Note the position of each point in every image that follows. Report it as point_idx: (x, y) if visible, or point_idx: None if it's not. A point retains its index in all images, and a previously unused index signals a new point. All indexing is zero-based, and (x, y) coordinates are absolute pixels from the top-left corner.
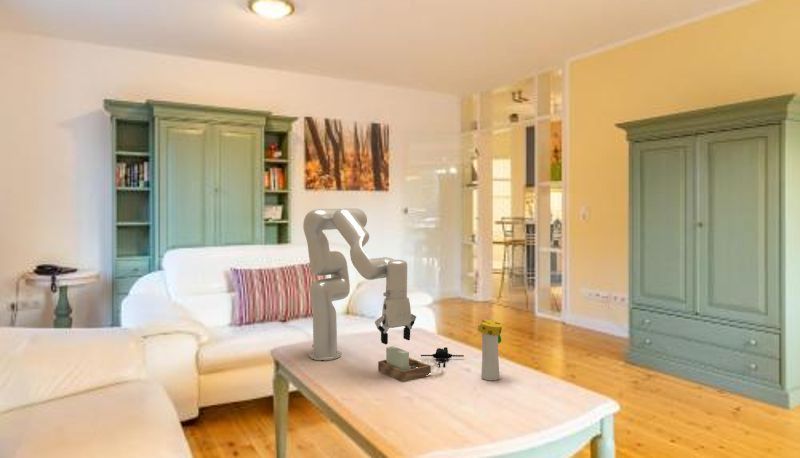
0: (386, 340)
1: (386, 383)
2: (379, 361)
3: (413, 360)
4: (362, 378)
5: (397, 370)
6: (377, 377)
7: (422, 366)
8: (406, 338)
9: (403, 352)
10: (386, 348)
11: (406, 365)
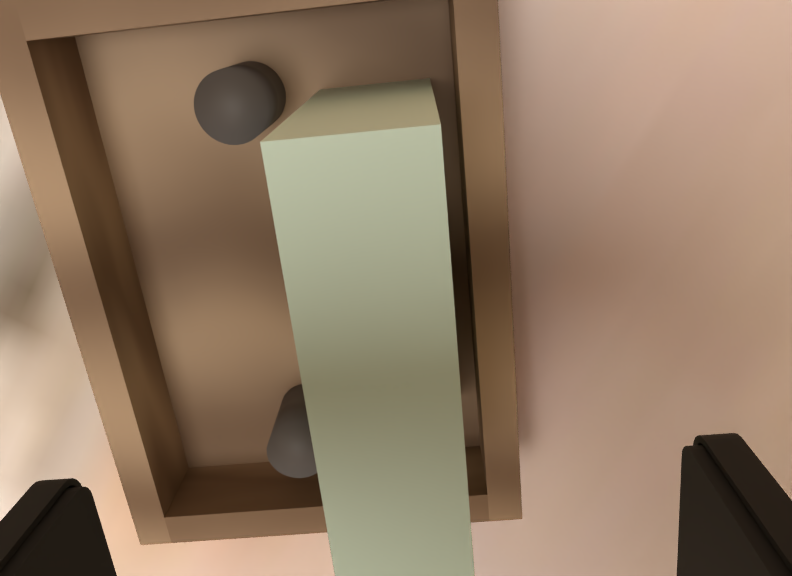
0: (774, 485)
1: (677, 29)
2: (511, 509)
3: (114, 344)
4: (783, 330)
5: (501, 98)
6: (635, 277)
7: (74, 142)
8: (90, 553)
9: (370, 177)
10: (473, 573)
11: (349, 99)
